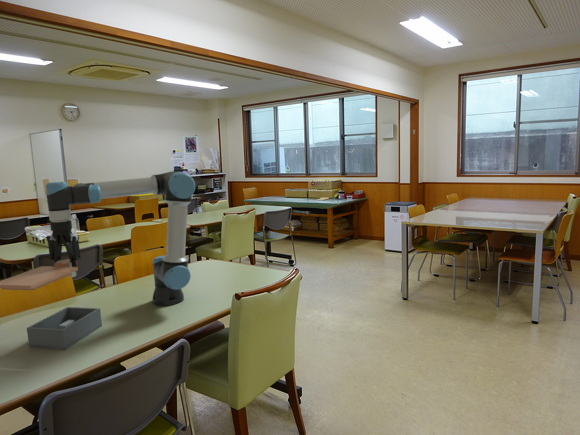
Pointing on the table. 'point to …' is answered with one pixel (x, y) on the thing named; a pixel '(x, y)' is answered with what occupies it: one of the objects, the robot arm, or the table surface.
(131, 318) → the table surface
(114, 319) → the table surface
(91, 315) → the tub
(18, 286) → the lid
